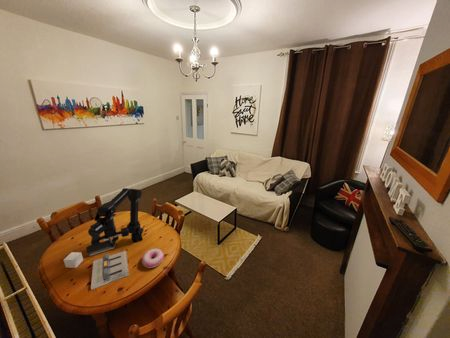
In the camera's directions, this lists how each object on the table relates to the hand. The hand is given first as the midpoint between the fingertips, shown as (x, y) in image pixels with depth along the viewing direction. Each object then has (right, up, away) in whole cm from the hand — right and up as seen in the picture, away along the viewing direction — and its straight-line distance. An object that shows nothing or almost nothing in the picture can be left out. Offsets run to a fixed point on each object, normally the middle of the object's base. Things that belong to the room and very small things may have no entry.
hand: (113, 247), depth 109 cm
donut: (+22, -12, +6) cm, 26 cm away
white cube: (-25, -11, +2) cm, 28 cm away
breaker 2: (0, -13, -7) cm, 15 cm away
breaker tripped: (-3, -11, -2) cm, 12 cm away
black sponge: (-16, -8, +14) cm, 23 cm away
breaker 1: (-6, -10, +2) cm, 11 cm away
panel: (-1, -13, -1) cm, 13 cm away
